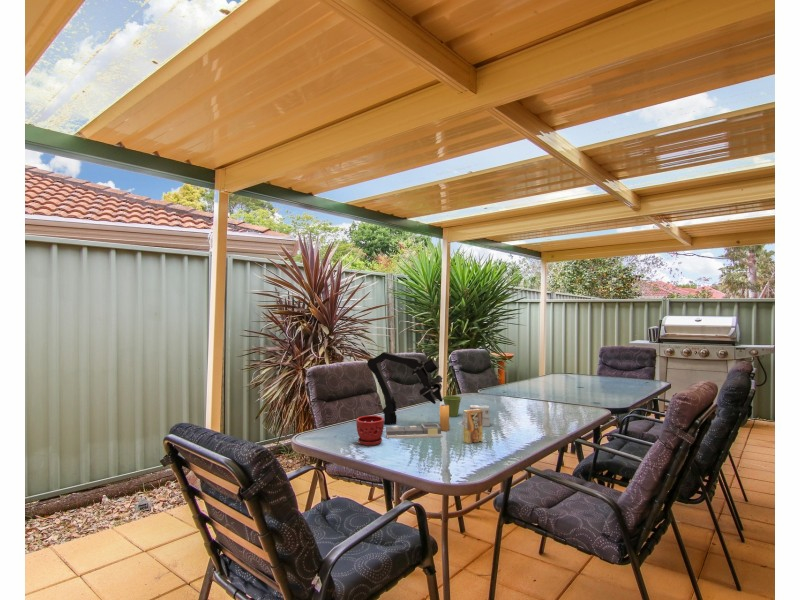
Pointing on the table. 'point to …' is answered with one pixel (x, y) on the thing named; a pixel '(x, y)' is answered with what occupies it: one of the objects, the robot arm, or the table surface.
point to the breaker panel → (414, 431)
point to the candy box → (472, 425)
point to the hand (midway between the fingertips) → (438, 402)
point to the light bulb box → (483, 413)
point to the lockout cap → (444, 417)
